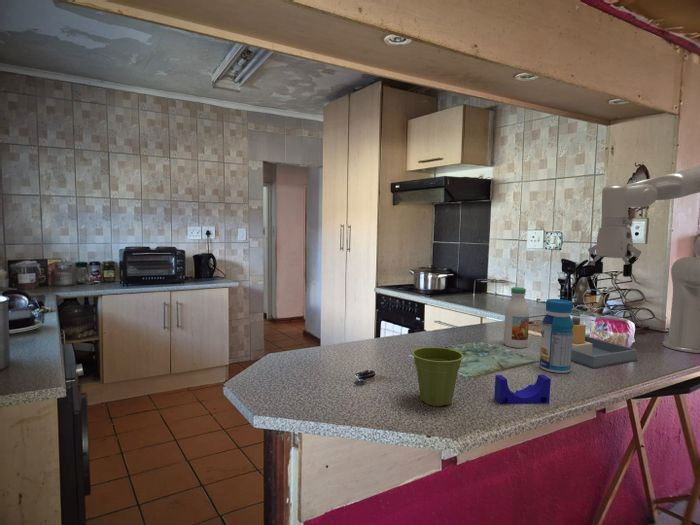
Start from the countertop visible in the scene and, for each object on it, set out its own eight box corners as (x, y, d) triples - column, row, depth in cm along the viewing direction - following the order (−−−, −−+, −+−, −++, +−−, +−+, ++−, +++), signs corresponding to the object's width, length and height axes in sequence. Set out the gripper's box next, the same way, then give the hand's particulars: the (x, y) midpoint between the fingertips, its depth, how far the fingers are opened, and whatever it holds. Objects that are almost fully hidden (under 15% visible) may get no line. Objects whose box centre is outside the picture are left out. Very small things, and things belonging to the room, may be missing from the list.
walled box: (584, 345, 153) (585, 331, 152) (636, 360, 136) (638, 345, 136) (542, 351, 144) (543, 336, 144) (593, 368, 128) (594, 351, 128)
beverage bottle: (563, 376, 121) (568, 304, 119) (533, 368, 127) (537, 300, 126) (575, 369, 127) (580, 301, 125) (546, 362, 133) (550, 297, 131)
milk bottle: (501, 346, 150) (504, 288, 148) (505, 341, 156) (508, 285, 155) (526, 349, 146) (529, 290, 144) (528, 344, 153) (531, 287, 151)
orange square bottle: (572, 352, 142) (575, 316, 140) (583, 356, 138) (586, 318, 137) (563, 354, 140) (566, 317, 139) (574, 357, 136) (577, 319, 135)
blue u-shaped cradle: (539, 396, 107) (540, 372, 106) (549, 404, 102) (550, 379, 102) (491, 397, 106) (492, 372, 105) (499, 404, 101) (500, 379, 101)
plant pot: (454, 391, 108) (456, 346, 107) (468, 411, 97) (470, 361, 96) (406, 390, 108) (408, 345, 107) (414, 411, 96) (416, 361, 95)
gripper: (648, 222, 138) (646, 276, 140) (597, 223, 154) (595, 271, 156) (633, 223, 135) (631, 278, 137) (582, 223, 151) (581, 273, 152)
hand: (612, 274), depth 146 cm, fingers open, 9 cm apart
